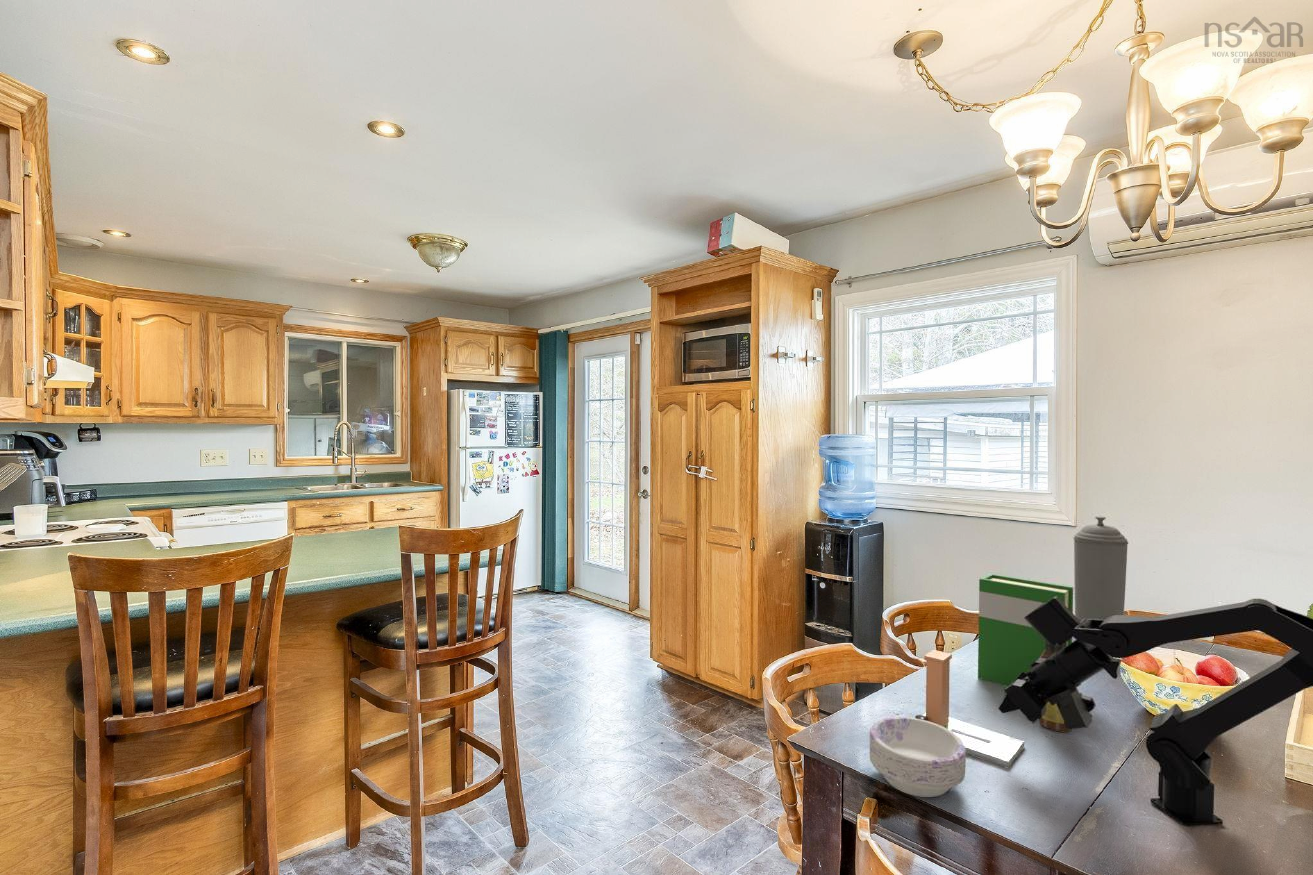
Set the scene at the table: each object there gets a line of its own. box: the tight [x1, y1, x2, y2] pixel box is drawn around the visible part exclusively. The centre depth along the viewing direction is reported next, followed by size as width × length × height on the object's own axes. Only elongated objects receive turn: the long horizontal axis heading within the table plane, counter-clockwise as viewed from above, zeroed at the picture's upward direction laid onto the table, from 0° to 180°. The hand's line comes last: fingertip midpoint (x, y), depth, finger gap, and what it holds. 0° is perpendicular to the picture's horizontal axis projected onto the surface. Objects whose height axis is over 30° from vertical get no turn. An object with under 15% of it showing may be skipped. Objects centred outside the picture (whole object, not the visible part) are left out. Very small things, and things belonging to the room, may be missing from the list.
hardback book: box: [977, 573, 1074, 687], centre depth 150 cm, size 18×7×24 cm, turn 44°
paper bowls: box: [869, 716, 967, 798], centre depth 109 cm, size 15×15×8 cm
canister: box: [1073, 515, 1129, 621], centre depth 180 cm, size 13×13×35 cm
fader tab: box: [923, 649, 953, 727], centre depth 127 cm, size 4×5×14 cm
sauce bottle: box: [1038, 641, 1073, 733], centre depth 129 cm, size 6×6×20 cm
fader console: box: [914, 712, 1025, 769], centre depth 124 cm, size 18×10×3 cm, turn 46°
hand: (1000, 710), depth 119 cm, fingers closed
